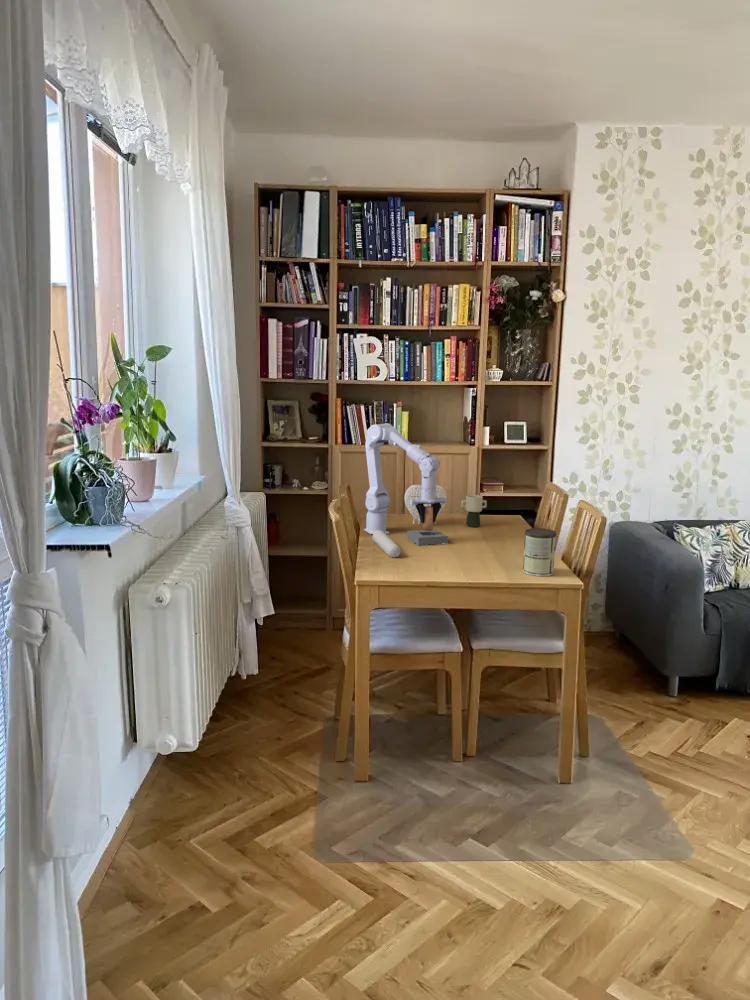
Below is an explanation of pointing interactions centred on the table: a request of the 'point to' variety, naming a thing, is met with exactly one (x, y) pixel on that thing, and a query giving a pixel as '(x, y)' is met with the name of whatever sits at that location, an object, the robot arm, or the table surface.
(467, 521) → the beige and green trophy
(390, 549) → the tube
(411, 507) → the decorative heart
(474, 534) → the table surface
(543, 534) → the coffee can
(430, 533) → the socket board
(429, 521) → the peg
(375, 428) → the robot arm
